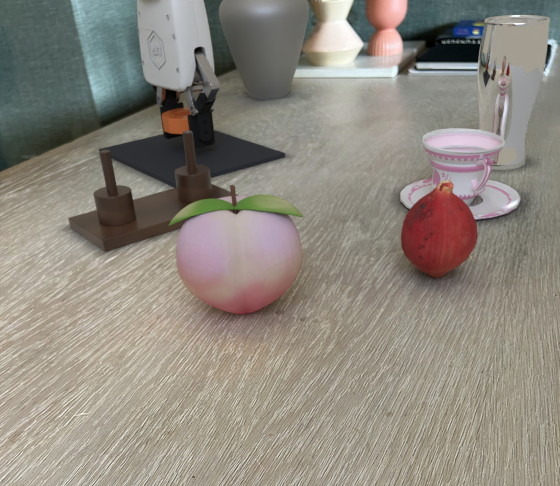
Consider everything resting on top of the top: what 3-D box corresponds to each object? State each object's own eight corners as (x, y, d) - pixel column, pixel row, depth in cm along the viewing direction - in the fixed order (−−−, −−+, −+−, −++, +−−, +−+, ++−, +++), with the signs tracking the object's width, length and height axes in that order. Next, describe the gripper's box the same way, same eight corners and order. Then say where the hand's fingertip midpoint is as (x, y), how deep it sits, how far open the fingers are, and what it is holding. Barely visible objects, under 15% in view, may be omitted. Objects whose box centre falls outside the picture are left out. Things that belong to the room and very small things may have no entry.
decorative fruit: (294, 281, 55) (290, 160, 50) (312, 331, 49) (309, 197, 43) (181, 294, 55) (163, 171, 49) (183, 345, 48) (163, 211, 42)
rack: (70, 229, 68) (52, 150, 63) (204, 190, 75) (196, 118, 71) (105, 252, 62) (87, 169, 58) (245, 208, 70) (239, 131, 66)
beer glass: (505, 175, 75) (526, 25, 66) (454, 163, 79) (468, 20, 71) (541, 161, 78) (565, 16, 70) (490, 150, 83) (508, 13, 74)
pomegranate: (417, 298, 52) (425, 198, 47) (387, 268, 57) (391, 174, 52) (484, 286, 53) (498, 187, 49) (449, 257, 58) (459, 164, 53)
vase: (208, 100, 113) (190, -78, 99) (261, 84, 122) (252, -81, 108) (276, 109, 106) (267, -83, 92) (327, 91, 115) (326, -86, 101)
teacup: (379, 192, 72) (381, 133, 69) (476, 175, 75) (483, 118, 72) (436, 231, 63) (442, 164, 59) (545, 210, 66) (556, 146, 62)
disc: (155, 128, 86) (153, 113, 85) (195, 119, 88) (193, 104, 87) (179, 136, 82) (177, 121, 81) (220, 126, 84) (218, 112, 83)
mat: (99, 153, 90) (98, 148, 89) (200, 129, 98) (200, 125, 97) (175, 188, 76) (174, 183, 76) (285, 157, 84) (285, 152, 84)
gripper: (104, -20, 80) (131, 135, 90) (178, -16, 68) (200, 161, 78) (159, -26, 83) (180, 124, 94) (239, -23, 72) (252, 147, 82)
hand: (189, 139), depth 86 cm, fingers closed on disc, 6 cm apart
